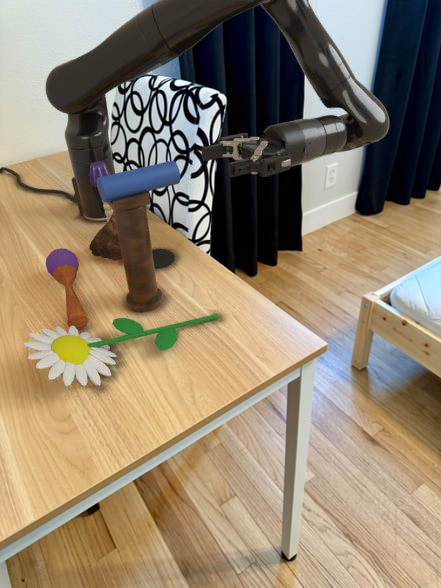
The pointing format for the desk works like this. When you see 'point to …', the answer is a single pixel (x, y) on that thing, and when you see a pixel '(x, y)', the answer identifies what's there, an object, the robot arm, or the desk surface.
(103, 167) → the toy lamp
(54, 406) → the desk surface
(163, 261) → the coaster
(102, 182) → the tube
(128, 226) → the post
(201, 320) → the decorative flower
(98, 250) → the decorative rock
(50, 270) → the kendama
